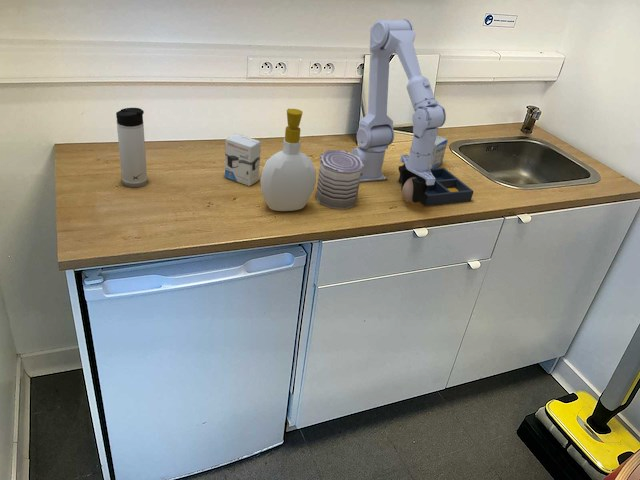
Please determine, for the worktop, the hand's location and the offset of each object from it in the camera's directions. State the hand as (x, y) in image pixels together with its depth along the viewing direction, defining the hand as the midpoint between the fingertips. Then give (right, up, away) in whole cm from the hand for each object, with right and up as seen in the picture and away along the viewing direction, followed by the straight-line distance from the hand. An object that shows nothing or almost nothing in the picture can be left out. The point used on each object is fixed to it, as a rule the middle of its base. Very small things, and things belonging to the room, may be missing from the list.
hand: (410, 196), depth 149 cm
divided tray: (+8, +3, +10) cm, 14 cm away
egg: (0, -1, +1) cm, 2 cm away
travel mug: (-74, +3, -5) cm, 74 cm away
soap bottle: (-34, -3, -7) cm, 35 cm away
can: (-20, -1, 0) cm, 20 cm away
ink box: (-47, +5, +3) cm, 47 cm away
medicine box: (+11, +12, +26) cm, 30 cm away
